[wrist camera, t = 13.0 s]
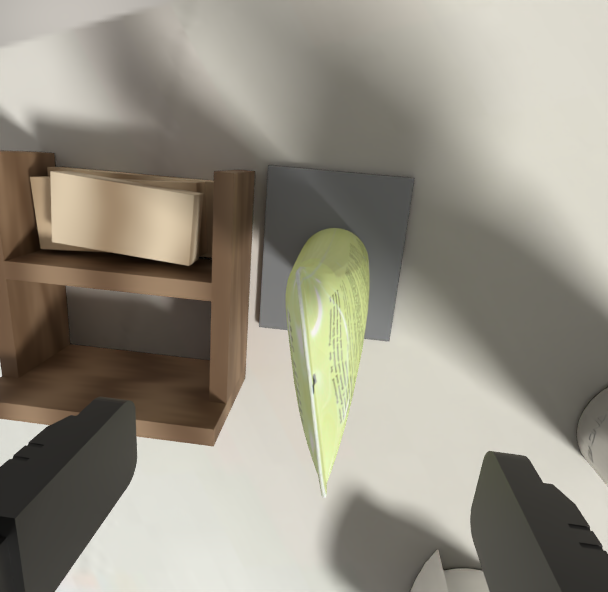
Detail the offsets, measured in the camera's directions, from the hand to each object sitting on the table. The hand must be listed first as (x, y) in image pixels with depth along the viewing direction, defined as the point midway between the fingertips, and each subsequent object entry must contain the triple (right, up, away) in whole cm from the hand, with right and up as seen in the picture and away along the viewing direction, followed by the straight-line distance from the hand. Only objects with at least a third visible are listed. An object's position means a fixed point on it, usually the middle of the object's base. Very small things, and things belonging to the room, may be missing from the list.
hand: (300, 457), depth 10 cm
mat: (+2, +7, +22) cm, 23 cm away
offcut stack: (-12, +10, +22) cm, 27 cm away
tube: (+2, +6, +22) cm, 23 cm away
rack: (-12, +6, +23) cm, 27 cm away
